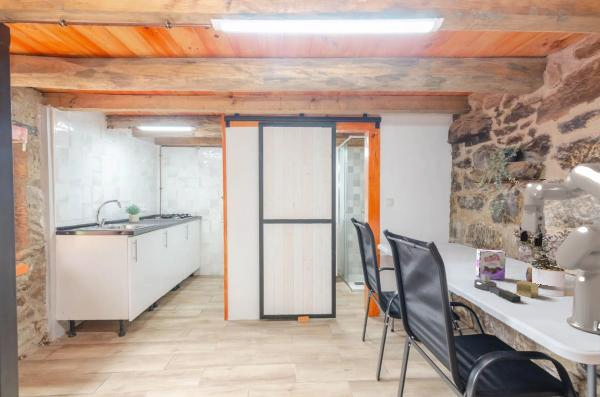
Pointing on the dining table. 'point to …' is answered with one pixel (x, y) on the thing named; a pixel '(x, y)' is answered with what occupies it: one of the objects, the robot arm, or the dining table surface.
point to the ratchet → (495, 288)
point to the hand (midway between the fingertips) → (530, 243)
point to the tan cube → (527, 289)
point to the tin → (529, 274)
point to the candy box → (491, 263)
